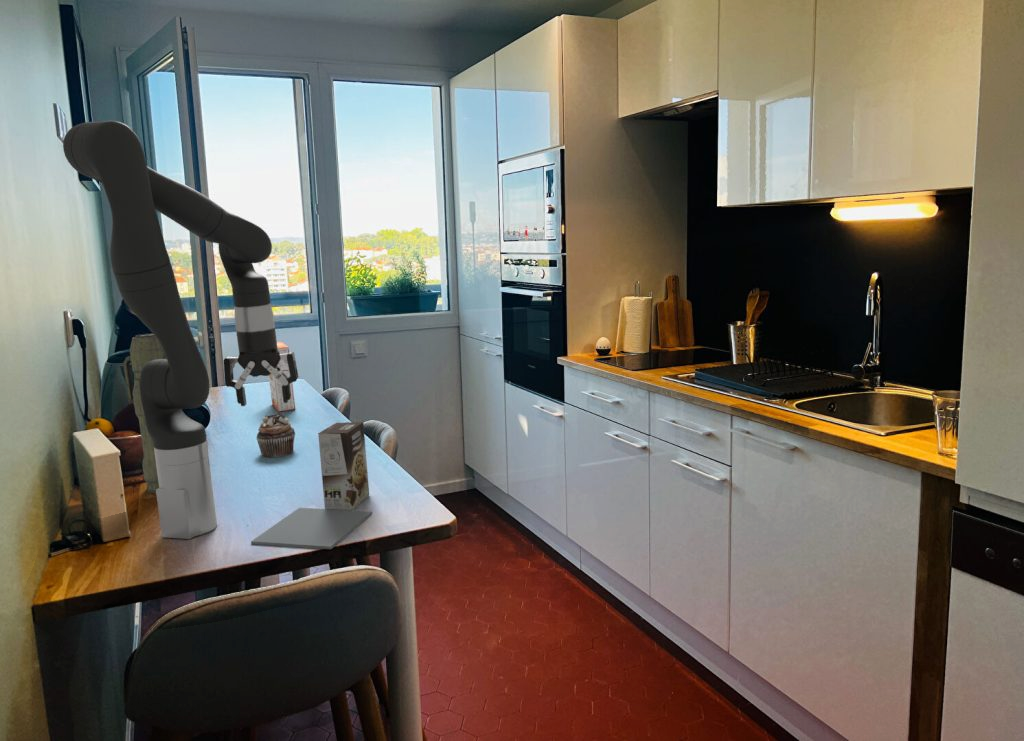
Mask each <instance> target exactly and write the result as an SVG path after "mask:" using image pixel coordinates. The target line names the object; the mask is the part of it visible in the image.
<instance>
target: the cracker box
mask: <svg viewBox="0 0 1024 741" xmlns="http://www.w3.org/2000/svg"><path fill="white" fill-rule="evenodd" d="M277 348H278V352H279V353H280V354H285V353H289V352H290V348H289V346H287V345H286V344H285V343H283V342H282V341H277ZM278 366H279V367H280V368H281V369H282V371H283V372H284V373H285V374H286V375H287V376H288V377H289V376H290V372H289V367H288V364H286V363H285V362H284V360H282V359H281V360H280V361H279V363H278ZM274 373H275V372H274ZM268 378H269V379H268V381H269V387H270V388H269V389H270V398H271V404H272V406H274V408H275V409H276V411H277V412H278V413H281V411H282V412H288V411H294V409H295V410H296V402H295V394H294V392H295V391H294V384H293V383H294V382H292V383H290V390H291V398H290V400H288V403H284V402H283V394H282V385H283V384H282V383H281V382H280V381H279V380H278V379H277V378H275V377H274V376H273V375H272V374H270V375H269V376H268Z"/></svg>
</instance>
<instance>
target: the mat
mask: <svg viewBox="0 0 1024 741" xmlns="http://www.w3.org/2000/svg"><path fill="white" fill-rule="evenodd" d="M372 514H373V511H372V510H371V511H370V510H369V511H368V510H367V511H366V510H354V509H353V510H334V509H325V508H311V507H298V508H297V509H295V510H294V511H293V512H291V513H290V514H288V515H287V516H286V517H284V518H282V519H281V520H279V521H277V523H275V524H274V525H272V526H271V527H270V528H268V529H267V530H264V532H262V533H261V534H260V535H258V536H256V537H255V538H254V539H252V540H251V541H250V544H251V545H259V546H260V545H263V546H276V547H279V546H280V547H291V548H292V547H293V548H307V549H320V550H321V549H324V550H332V549H333V548H334V547H336V546H337V545H338V544H339V543H340V542H341V541H343V540H344V539H345V538H346V537H348V536H349V534H351V533H352V532H353V531H354V530H356V528H357V527H359V526H360V525H361V524H362V523H363V522H365V521H366V520H367V519H368V518H370V517H371V515H372Z"/></svg>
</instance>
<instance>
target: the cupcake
mask: <svg viewBox="0 0 1024 741" xmlns="http://www.w3.org/2000/svg"><path fill="white" fill-rule="evenodd" d="M261 419H262V423H260V426H259V427H258V432H257V434H256V440H257V444H258V447H259V451H260V454H261V456H262V457H266V458H279V457H284V456H288V455H290V454H292V453H294V442H295V436H296V432H295V428H294V427H292V426H291V423H290V421H289V418H287V417H286V415H284V414H283V413H281V412H278V413H275V414H269V415H268V414H266V415H265V416H263V417H262V418H261Z"/></svg>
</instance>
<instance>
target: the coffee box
mask: <svg viewBox="0 0 1024 741" xmlns="http://www.w3.org/2000/svg"><path fill="white" fill-rule="evenodd" d="M364 423H365V422H362V421H361V422H360V421H355V422H354V421H353V422H349V421H347V422H335V423H333V424H331V425H330V426H328V427H327V428H325V429H323V430H321V431H320V432H318V433H317V434H318V446H319V448H318V449H319V458H320V466H321V467H320V469H321V481H322V492H323V503H324V504H323V505H324V509H334V510H353V511H354V510H355V508H357V507H358V506H359V505H360V504H361V503H362V502H364V501H365V500H366V499H367V498H368V497H369V496H370V487H369V486H370V485H369V484H370V483H369V475H368V463H367V462H368V461H367V451H366V438H365V427H364Z"/></svg>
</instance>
